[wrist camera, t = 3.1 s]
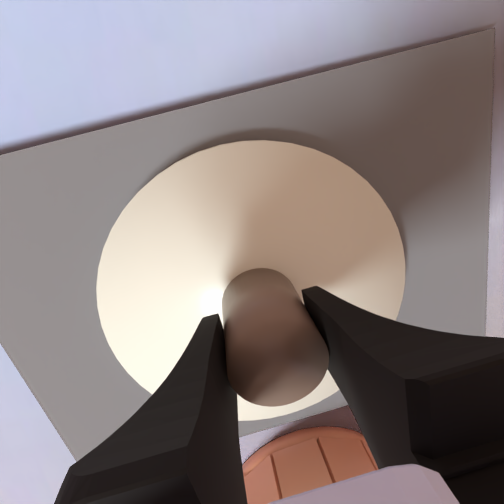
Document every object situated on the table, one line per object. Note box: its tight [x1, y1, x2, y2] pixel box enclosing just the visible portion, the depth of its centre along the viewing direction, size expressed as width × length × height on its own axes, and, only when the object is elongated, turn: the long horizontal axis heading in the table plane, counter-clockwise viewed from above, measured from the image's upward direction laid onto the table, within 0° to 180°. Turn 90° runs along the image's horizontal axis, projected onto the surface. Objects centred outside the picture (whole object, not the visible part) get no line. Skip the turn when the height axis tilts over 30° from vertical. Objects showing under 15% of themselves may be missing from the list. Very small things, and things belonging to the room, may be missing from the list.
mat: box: [0, 28, 495, 461], centre depth 15 cm, size 16×22×1 cm
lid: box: [96, 140, 405, 421], centre depth 12 cm, size 13×13×5 cm
